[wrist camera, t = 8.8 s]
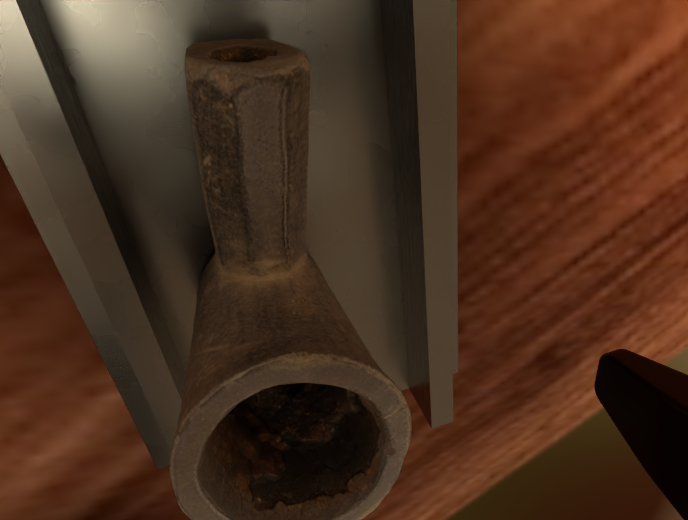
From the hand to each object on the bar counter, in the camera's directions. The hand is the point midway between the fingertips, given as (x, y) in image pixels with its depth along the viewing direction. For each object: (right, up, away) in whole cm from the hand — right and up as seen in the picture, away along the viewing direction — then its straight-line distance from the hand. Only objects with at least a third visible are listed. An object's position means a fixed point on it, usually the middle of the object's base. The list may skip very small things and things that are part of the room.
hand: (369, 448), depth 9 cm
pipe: (-4, +4, +10) cm, 11 cm away
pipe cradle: (-3, +6, +10) cm, 12 cm away
